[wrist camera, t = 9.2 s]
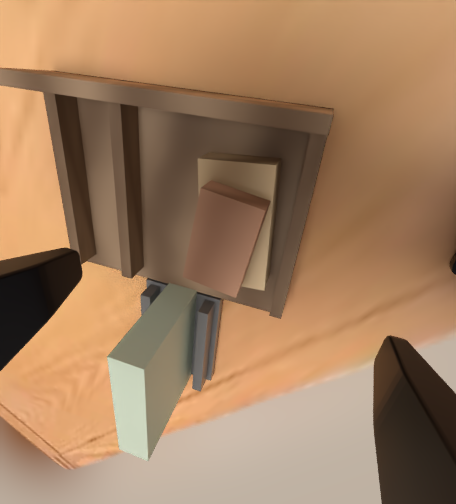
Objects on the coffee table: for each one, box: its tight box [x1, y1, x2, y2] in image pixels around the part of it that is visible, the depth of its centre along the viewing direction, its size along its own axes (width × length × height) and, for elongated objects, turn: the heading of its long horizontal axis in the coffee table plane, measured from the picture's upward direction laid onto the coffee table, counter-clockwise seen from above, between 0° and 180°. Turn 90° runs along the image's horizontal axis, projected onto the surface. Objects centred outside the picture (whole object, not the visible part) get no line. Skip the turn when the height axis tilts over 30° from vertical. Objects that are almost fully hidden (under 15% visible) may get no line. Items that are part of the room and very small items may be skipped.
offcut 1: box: [198, 152, 282, 291], centre depth 19 cm, size 4×8×2 cm, turn 178°
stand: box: [141, 278, 223, 391], centre depth 27 cm, size 6×10×2 cm
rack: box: [0, 68, 333, 319], centre depth 20 cm, size 18×14×5 cm
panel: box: [107, 283, 197, 461], centre depth 23 cm, size 2×10×8 cm, turn 173°
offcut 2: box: [183, 180, 271, 298], centre depth 18 cm, size 4×6×2 cm, turn 165°
